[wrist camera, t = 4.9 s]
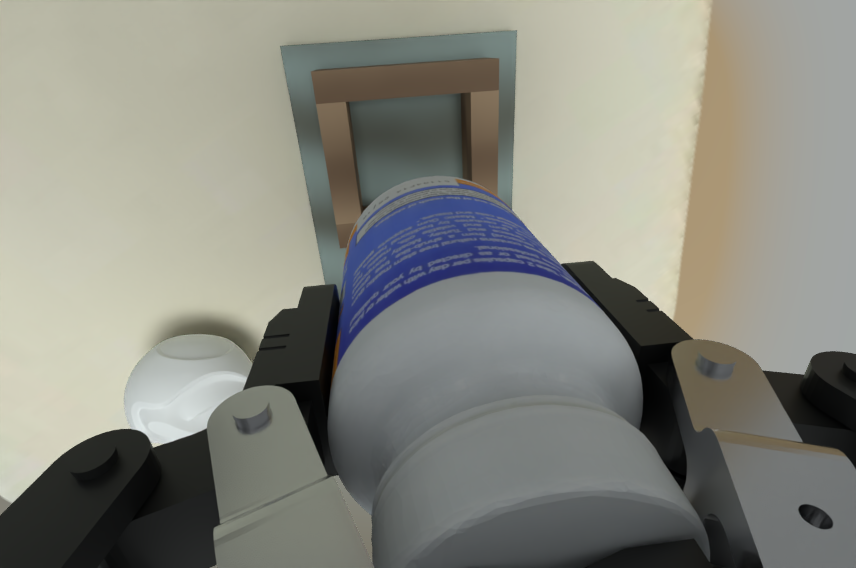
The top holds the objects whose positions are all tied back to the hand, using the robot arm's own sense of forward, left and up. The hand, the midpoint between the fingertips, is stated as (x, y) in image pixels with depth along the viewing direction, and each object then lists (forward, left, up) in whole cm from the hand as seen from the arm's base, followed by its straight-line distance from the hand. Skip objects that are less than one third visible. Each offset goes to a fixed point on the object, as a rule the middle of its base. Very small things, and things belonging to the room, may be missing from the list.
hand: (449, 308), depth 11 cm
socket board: (+5, 0, -20) cm, 20 cm away
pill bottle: (0, 0, -3) cm, 3 cm away
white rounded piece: (+14, -16, -20) cm, 29 cm away
